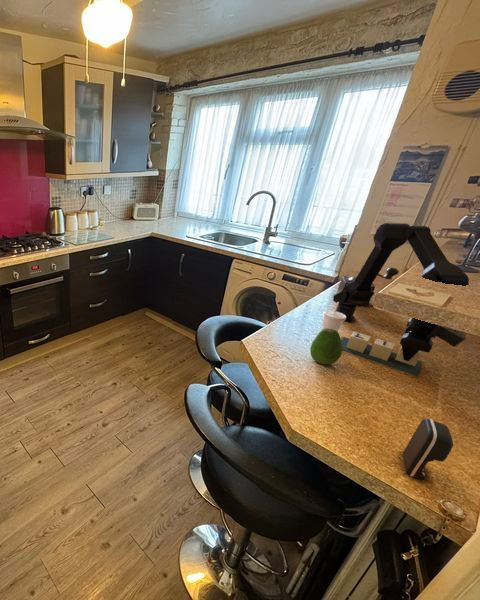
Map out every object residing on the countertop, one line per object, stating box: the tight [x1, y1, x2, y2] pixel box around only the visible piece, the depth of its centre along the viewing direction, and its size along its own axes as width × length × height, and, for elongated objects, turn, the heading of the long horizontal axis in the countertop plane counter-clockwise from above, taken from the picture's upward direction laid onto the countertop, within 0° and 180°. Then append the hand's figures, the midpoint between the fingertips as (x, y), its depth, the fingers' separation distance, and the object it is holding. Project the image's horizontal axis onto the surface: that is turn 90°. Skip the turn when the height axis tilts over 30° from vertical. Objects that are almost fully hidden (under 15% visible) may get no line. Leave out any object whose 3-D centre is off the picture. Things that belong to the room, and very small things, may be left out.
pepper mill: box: [335, 265, 400, 308], centre depth 138 cm, size 16×11×18 cm
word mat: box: [341, 336, 422, 377], centre depth 104 cm, size 11×20×1 cm, turn 42°
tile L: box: [347, 331, 371, 353], centre depth 107 cm, size 4×4×5 cm
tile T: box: [395, 344, 423, 366], centre depth 98 cm, size 4×4×5 cm
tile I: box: [369, 338, 395, 361], centre depth 103 cm, size 4×4×5 cm
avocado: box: [310, 328, 343, 365], centre depth 99 cm, size 8×8×12 cm
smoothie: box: [320, 302, 346, 333], centre depth 111 cm, size 6×6×14 cm
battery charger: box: [402, 417, 454, 480], centre depth 65 cm, size 7×4×11 cm, turn 142°
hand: (406, 357), depth 99 cm, fingers closed on tile T, 4 cm apart
